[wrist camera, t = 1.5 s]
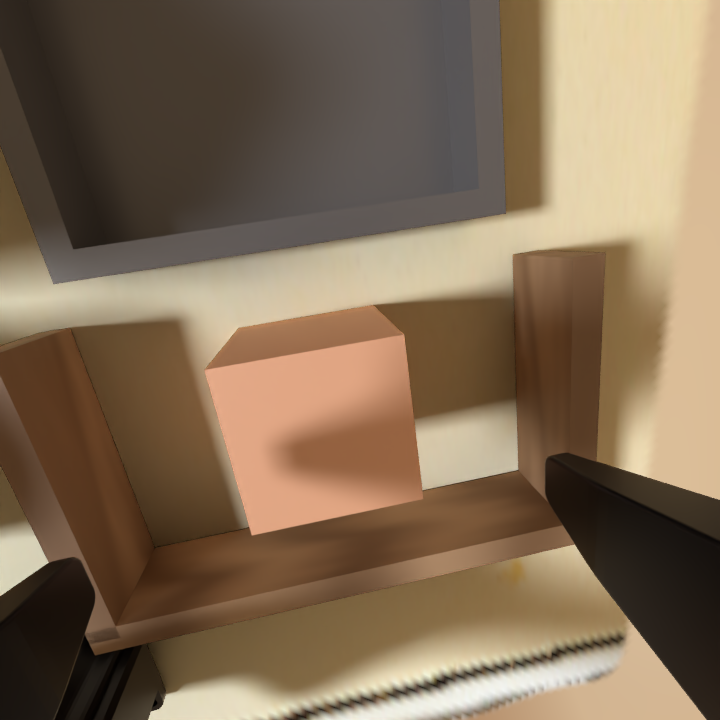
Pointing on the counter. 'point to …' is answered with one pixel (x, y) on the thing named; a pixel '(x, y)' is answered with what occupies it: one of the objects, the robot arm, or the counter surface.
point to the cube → (317, 417)
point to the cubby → (313, 540)
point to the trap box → (245, 124)
